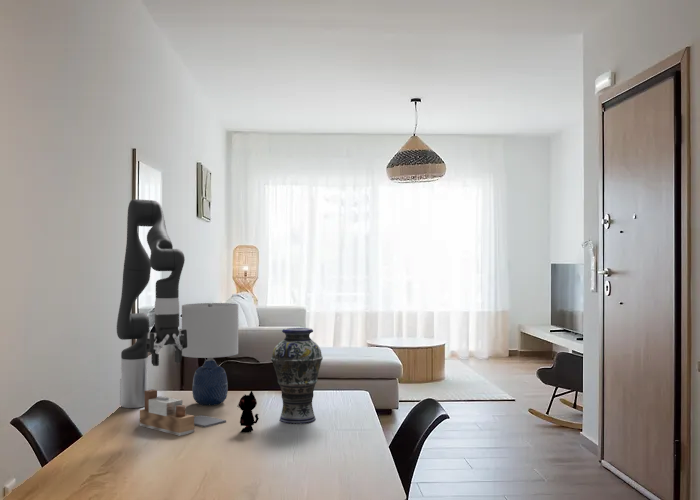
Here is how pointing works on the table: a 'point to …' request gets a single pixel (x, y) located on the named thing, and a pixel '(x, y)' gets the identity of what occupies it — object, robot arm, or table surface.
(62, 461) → the table surface
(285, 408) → the vase
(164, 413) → the lever cap
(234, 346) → the lamp
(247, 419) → the cat figurine
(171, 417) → the plane body
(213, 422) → the felt mat
